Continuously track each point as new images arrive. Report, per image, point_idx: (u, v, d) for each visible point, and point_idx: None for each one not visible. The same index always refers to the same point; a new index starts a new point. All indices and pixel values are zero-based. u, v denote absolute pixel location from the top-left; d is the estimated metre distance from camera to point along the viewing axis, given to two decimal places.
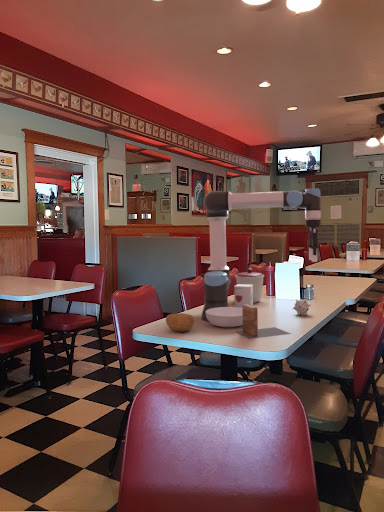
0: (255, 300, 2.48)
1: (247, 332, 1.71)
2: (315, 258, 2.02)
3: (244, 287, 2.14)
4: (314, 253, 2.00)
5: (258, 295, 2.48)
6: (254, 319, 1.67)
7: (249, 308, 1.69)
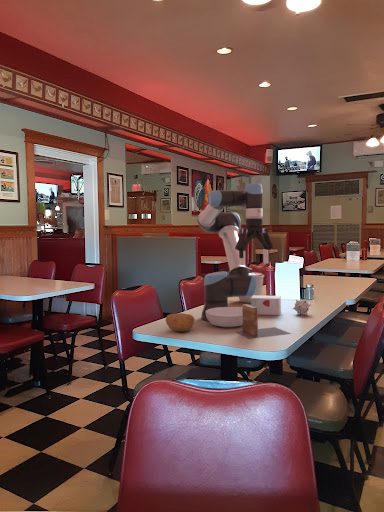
0: None
1: (247, 332, 1.71)
2: (242, 261, 1.83)
3: (278, 309, 2.10)
4: (239, 256, 1.83)
5: None
6: (254, 319, 1.67)
7: (249, 308, 1.69)
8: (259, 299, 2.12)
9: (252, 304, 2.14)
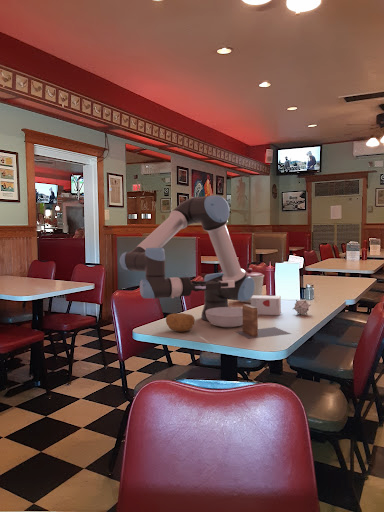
0: None
1: (247, 332, 1.71)
2: None
3: (278, 309, 2.10)
4: None
5: None
6: (254, 319, 1.67)
7: (249, 308, 1.69)
8: (259, 299, 2.12)
9: (252, 304, 2.14)
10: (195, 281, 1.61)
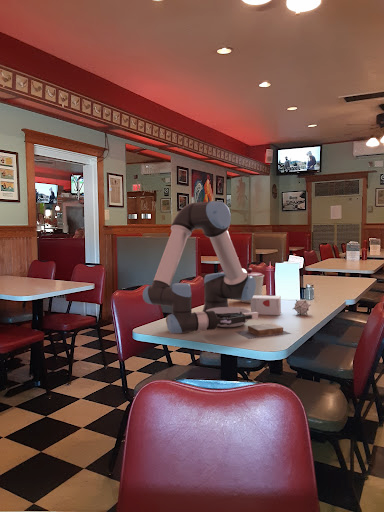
0: None
1: (254, 327, 1.72)
2: None
3: (278, 309, 2.10)
4: None
5: None
6: (273, 330, 1.70)
7: (278, 326, 1.74)
8: (259, 299, 2.12)
9: (252, 304, 2.14)
10: (220, 315, 1.65)
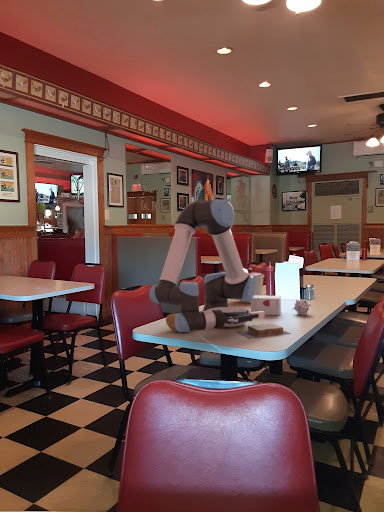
0: None
1: (254, 327, 1.72)
2: None
3: (278, 309, 2.10)
4: None
5: None
6: (273, 330, 1.70)
7: (278, 326, 1.74)
8: (259, 299, 2.12)
9: (252, 304, 2.14)
10: (227, 314, 1.66)
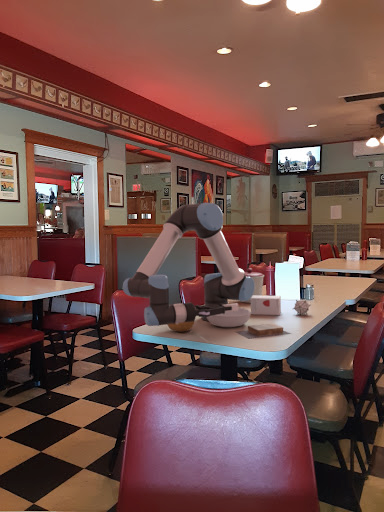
0: None
1: (254, 327, 1.72)
2: None
3: (278, 309, 2.10)
4: None
5: None
6: (273, 330, 1.70)
7: (278, 326, 1.74)
8: (259, 299, 2.12)
9: (252, 304, 2.14)
10: (199, 306, 1.62)
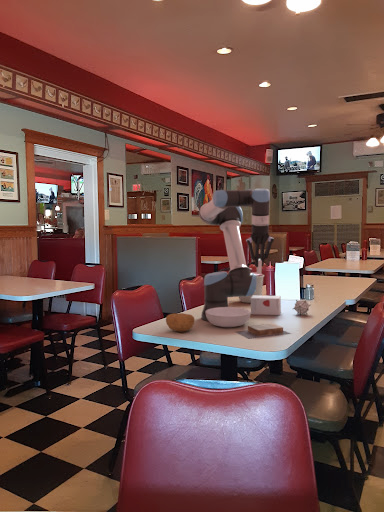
0: None
1: (254, 327, 1.72)
2: (257, 270, 1.89)
3: (278, 309, 2.10)
4: (255, 264, 1.88)
5: None
6: (273, 330, 1.70)
7: (278, 326, 1.74)
8: (259, 299, 2.12)
9: (252, 304, 2.14)
10: None
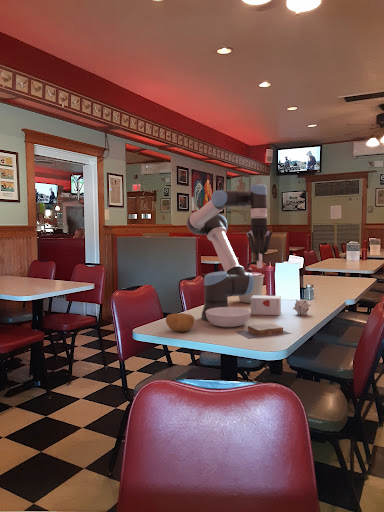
0: None
1: (254, 327, 1.72)
2: (258, 264, 1.92)
3: (278, 309, 2.10)
4: (255, 259, 1.92)
5: None
6: (273, 330, 1.70)
7: (278, 326, 1.74)
8: (259, 299, 2.12)
9: (252, 304, 2.14)
10: None
